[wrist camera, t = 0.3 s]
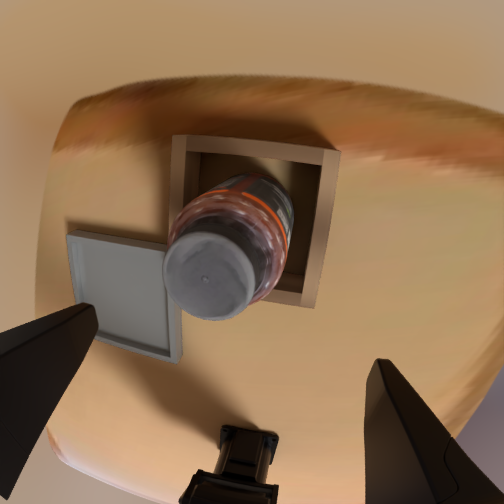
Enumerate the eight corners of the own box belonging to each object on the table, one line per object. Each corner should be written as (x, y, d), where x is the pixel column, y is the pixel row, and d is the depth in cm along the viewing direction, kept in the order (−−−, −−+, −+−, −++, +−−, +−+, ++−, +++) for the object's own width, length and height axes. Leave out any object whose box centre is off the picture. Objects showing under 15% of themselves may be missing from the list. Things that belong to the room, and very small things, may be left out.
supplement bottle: (199, 220, 24) (119, 286, 14) (242, 154, 22) (177, 173, 11) (264, 266, 24) (227, 362, 14) (312, 204, 22) (311, 267, 12)
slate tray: (182, 354, 29) (177, 364, 28) (89, 327, 31) (82, 334, 29) (181, 246, 25) (173, 253, 24) (76, 229, 27) (66, 234, 25)
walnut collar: (314, 289, 24) (314, 308, 21) (183, 267, 26) (169, 283, 23) (337, 149, 20) (341, 151, 18) (189, 134, 22) (172, 135, 19)
